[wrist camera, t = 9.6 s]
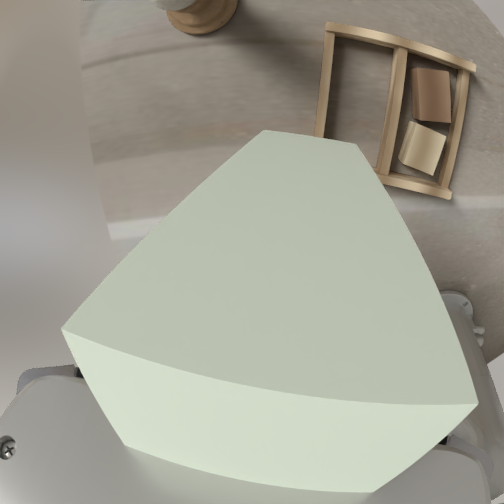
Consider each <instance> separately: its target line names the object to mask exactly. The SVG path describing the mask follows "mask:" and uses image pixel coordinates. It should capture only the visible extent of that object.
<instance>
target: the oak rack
mask: <svg viewBox="0 0 504 504" xmlns="http://www.w3.org/2000/svg"><path fill="white" fill-rule="evenodd" d="M335 36H337V37H343V38H349V39H354V40H359V41H364V42H368V43H373V44H377V45H381V46H385V47H389V48H393V49H394V51H393V61H392V70H391V79H390V87H389V95H388V102H387V109H386V115H385V121H384V128H383V133H382V139H381V145H380V150H379V155H378V161H377V166H376V168H374V167H372V169H373V170H374V172H375V173H376V175H377V177H378V178H379V180H380V181H381V183H382V184H386V185H391V186H395V187H399V188H404V189H408V190H412V191H417V192H421V193H425V194H429V195H433V196H437V197H441V198H444V199H448V200H450V199H451V195H452V192H451V191H450V190H449V189H448V186H449V182H450V178H451V175H452V171H453V167H454V163H455V158H456V154H457V149H458V145H459V140H460V135H461V130H462V125H463V119H464V113H465V107H466V100H467V93H468V85H469V77H470V72H476V64H474V63H471V62H469V61H467V60H464V59H462V58H460V57H457V56H454V55H452V54H449V53H447V52H444V51H441V50H439V49H436V48H433V47H430V46H427V45H424V44H421V43H418V42H414V41H411V40H408V39H404V38H401V37H397V36H394V35H390V34H386V33H382V32H378V31H373V30H369V29H364V28H360V27H355V26H349V25H344V24H338V23H332V22H326V27H325V38H324V49H323V60H322V69H321V79H320V88H319V97H318V106H317V114H316V122H315V130H314V137H319V138H323V135H324V128H325V120H326V112H327V104H328V96H329V87H330V78H331V69H332V59H333V49H334V38H335ZM407 53H411V54H414V55H417V56H421V57H424V58H427V59H430V60H433V61H436V62H439V63H441V64H444V65H447V66H450V67H452V68H455V69H457V70H458V74H457V83H456V91H455V98H454V104H453V111H452V117H451V123H450V128H449V133H448V138H447V143H446V148H445V152H444V157H443V161H442V166H441V170H440V174H439V178H438V182H433V181H429V180H425V179H422V178H418V177H414V176H410V175H405V174H401V173H397V172H393V171H389V169H390V164H391V159H392V154H393V149H394V144H395V138H396V133H397V127H398V121H399V115H400V109H401V102H402V95H403V88H404V80H405V71H406V62H407Z"/></svg>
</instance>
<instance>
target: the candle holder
mask: <svg viewBox="0 0 504 504" xmlns="http://www.w3.org/2000/svg"><path fill="white" fill-rule="evenodd" d="M84 1H92V0H84ZM151 2H152V3H153V4H154V5H155V6H156V7H158V8H160V9H162V10H166V12H167V16H168V18H169V21H170V22H171V23H172V25H173V26H174V27H175V28H177V29H178V30H180V31H182V32H185V33H188V34H195V35H198V34H207V33H210V32H213V31H215V30H217V29H219V28H221V27H222V26H223V25H225V24H226V23H227V22H228V21H229V20H230V19H231V17H232V16H233V14H234V12H235V10H236V7H237V3H238V0H151Z"/></svg>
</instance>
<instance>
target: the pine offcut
mask: <svg viewBox="0 0 504 504" xmlns="http://www.w3.org/2000/svg"><path fill="white" fill-rule="evenodd" d="M445 139H446V136H444V135H442V134H440V133H438V132H436V131H433V130H431V129H429V128H427V127H424V126H422V125H420V124H417V123H415V122H412V121H409V124H408V127H407V131H406V134H405V137H404V140H403V143H402V147H401V150H400V153H399V156H398V159H399V160H400V161H401V162H402V163H403V164H405V165H407V166H410V167H413V168H415V169H418V170H420V171H423V172H425V173H427V174H430V175H432V176H433V174H434V171H435V169H436V166H437V163H438V160H439V157H440V154H441V151H442V149H443V146H444V142H445Z"/></svg>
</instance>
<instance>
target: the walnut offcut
mask: <svg viewBox="0 0 504 504" xmlns="http://www.w3.org/2000/svg"><path fill="white" fill-rule="evenodd" d="M410 79H411V92H412V112H413V118H415V119H418V120H423V121H436V122H447V123H451V98H450V80H449V72H448V71H441V70H434V69H425V68H411V69H410Z"/></svg>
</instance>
